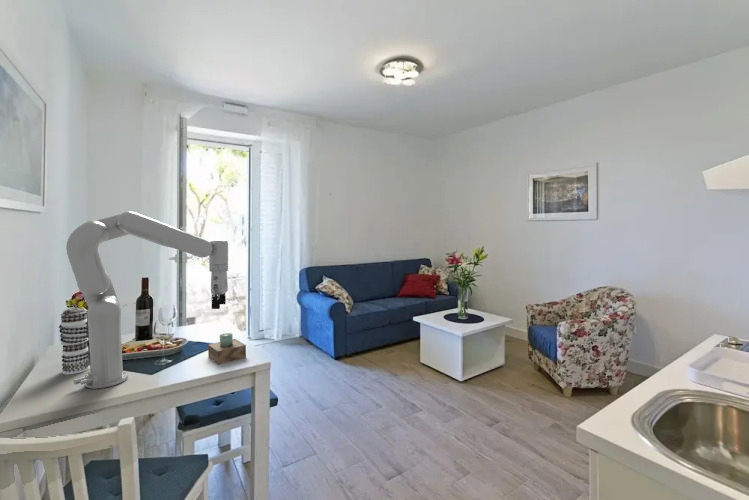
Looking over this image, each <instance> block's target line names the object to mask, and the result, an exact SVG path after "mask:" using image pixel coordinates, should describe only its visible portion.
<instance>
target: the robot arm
mask: <svg viewBox="0 0 749 500" xmlns="http://www.w3.org/2000/svg"><path fill="white" fill-rule="evenodd" d="M128 235H131V236H133V237H137V238H140V239H142V240H145V241H149V242H150V243H154V244H156V245H160V246H163V247H165V248H166V247H167V248H171V249H175V250H177V251H178V250H179V251H181V252H184V253H187V254H190V255H192V256H195V257H198V258H202V259H203V258H207V257H209V262H208V263H209V266H208V267H209V268H208V269H209V270H208V271H209V272H211V274H210V275H211V276H210V294H211V309H212V310H219V309H220V308H221V305H226V299H227V298H226V297H227V295H226V293H227V292H228V291H229V289H228V288H229V287H228V284H229V283H228V273H227V272H228V271H229V243H228V242H229V241H228V240H227V239H212V240H211V239H209V240H208V239H205V238H202V237H200V236H197V235H194V234H191V233H188V232H186V231H183V230H181V229H178V228H176V227H174V226H171V225H169V224H167V223H163V222H161V221H159V220H156V219H153V218H152V217H148V216H145V215H143V214H140V213H138V212H135V211H124V212H122V213H120V214H116V215H112V216H109V217H105V218H101V219H97V220H89V221H86V222H84V223H82V224H81V225H79V226H78V227H76V228H75V229H74V230H73V231H72V232H71V233H70V235H69V236H68V239H67V241H66V246H65V247H66V248H65V249H66V255H67V258H68V261H69V264H70V267H71V269H72V272H73V275H74V278H75V281H76V285H77V288H78V290H79V292H80V293H81V294H82V295H83V298H84V301H85V303H86V306H87V312H86V318H87V321H88V324H87V326H88V329H87V330H88V335H89V337H88V339H89V340H88V343H89V346H88V351H89V359H90V361H89V363H90V365H89V366H90V368H89V370H90V371H88V372H87V374H86V375H84V376H82V377H77V378H74V379H73V384H74V385H79V384H81V385H85V387H86V388H88V389H95V390H96V389H97V390H98V389H104V388H109V387H114V386H116V385H119V384H121V383H124V382H125V381H126V380H127V379H128V378H129V374H128V373H127V372H126V371H124V370H123V369H124V368H123V347H122V345H123V344H122V325H121V324H122V322H121V321H122V313H121V312H122V311H121V310H122V309H121V305H120V301H119V298H118V296H117V294H116V291H115V287H114V286H113V283H112V280H111V278H110V275H109V273H108V272H107V271H106V270H105V268H104V265H103V263H102V260H101V257H100V253H99V246H100V244H102V243H105V242H108V241H110V240H114V239H117V238H121V237H124V236H125V237H126V236H128Z"/></svg>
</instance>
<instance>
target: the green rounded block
mask: <svg viewBox="0 0 749 500" xmlns="http://www.w3.org/2000/svg"><path fill="white" fill-rule="evenodd" d="M233 339H234V337H233V333H230V332H225V333H221V334H219V342H220V346H221V347H228V346H231V345H233Z"/></svg>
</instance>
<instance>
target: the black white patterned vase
mask: <svg viewBox="0 0 749 500" xmlns="http://www.w3.org/2000/svg"><path fill="white" fill-rule="evenodd" d="M87 312H88V310H85V309H84V308H83V307H73V308H68V309H67V308H66V309H64V311H63V312H62V313H60V318H61V319H60V325H58V328H59V330H58V331H59V333H60V335H59V337H60V339H59V340H60V342H61V344H60V345H62V350H61V351H62V352H61V353H62V354H61V358H62V359H61V362H62V364H61V366H62V374H63V375H75V374H79V373H80V374H81V373H83V372H86V371H88V370H90V350H89V346H88V342H89V332H88V320H87Z"/></svg>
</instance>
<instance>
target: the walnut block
mask: <svg viewBox="0 0 749 500" xmlns="http://www.w3.org/2000/svg"><path fill="white" fill-rule="evenodd" d="M207 350H208V351H207V352H208V354H207V355H208V358H209V359H211V360H212V361H213V362H214V363H216V364H217V365H223V364H227V363H230V362H233V361H234V362H235V361H238V360H242V359H245V358H247V345H246V344H245V343H243V342H241V341H240V340H238V339H236V338H233V345H231V346H228V347H221V346H220V341H219V342H214V343H210V344H207Z"/></svg>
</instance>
